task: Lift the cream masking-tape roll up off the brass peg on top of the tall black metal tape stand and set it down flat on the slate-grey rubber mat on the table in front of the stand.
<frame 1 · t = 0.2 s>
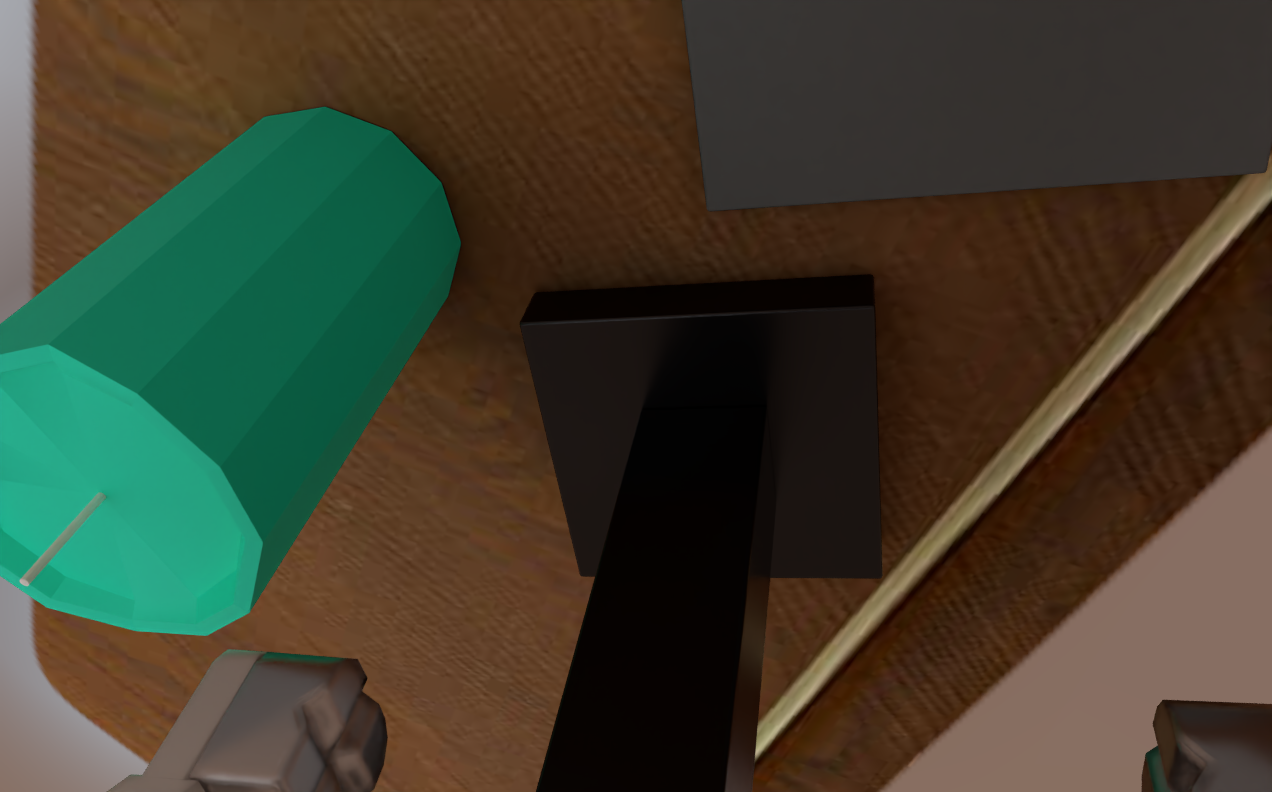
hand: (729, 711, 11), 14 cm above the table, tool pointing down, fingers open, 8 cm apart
tape stand: (716, 421, 27), on the table
candle: (343, 224, 25), on the table
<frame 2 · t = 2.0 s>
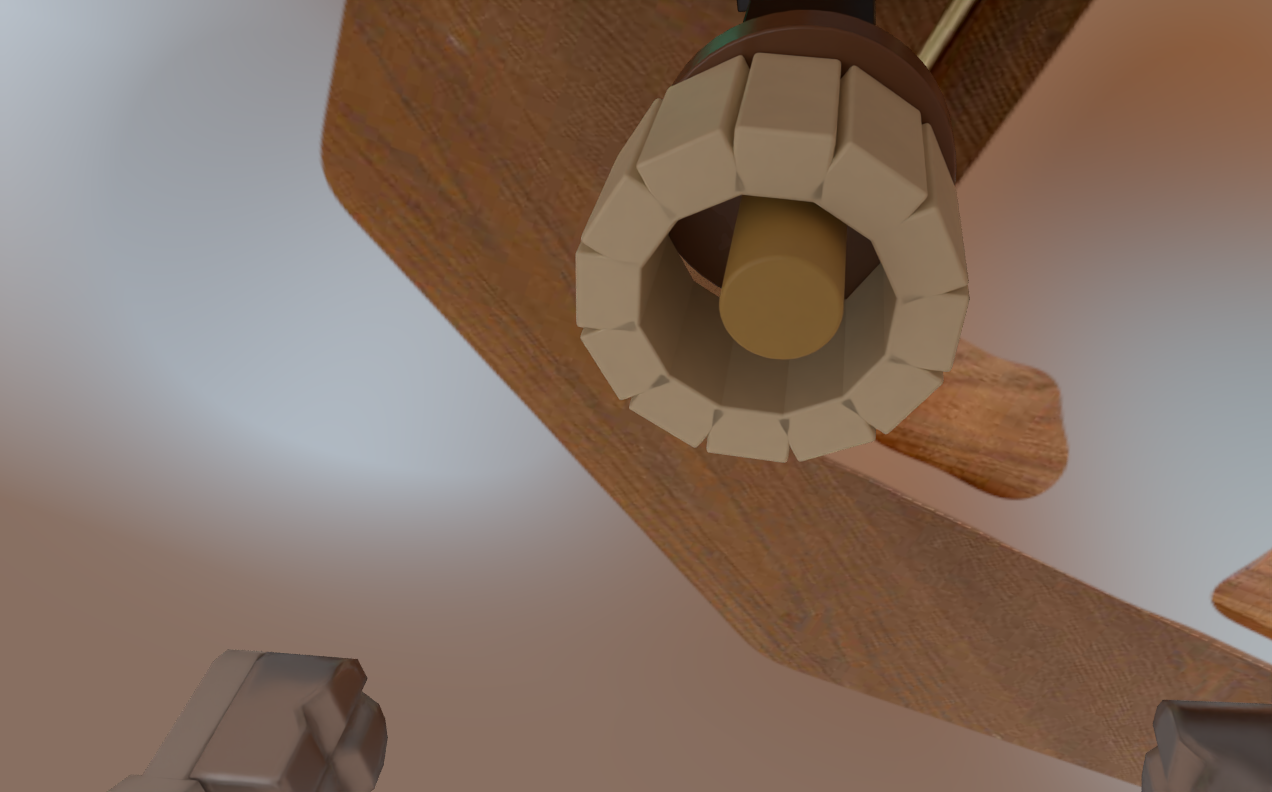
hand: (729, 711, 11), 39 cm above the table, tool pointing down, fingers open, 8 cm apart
tape: (777, 220, 21), point 26 cm above the table, touching tape stand
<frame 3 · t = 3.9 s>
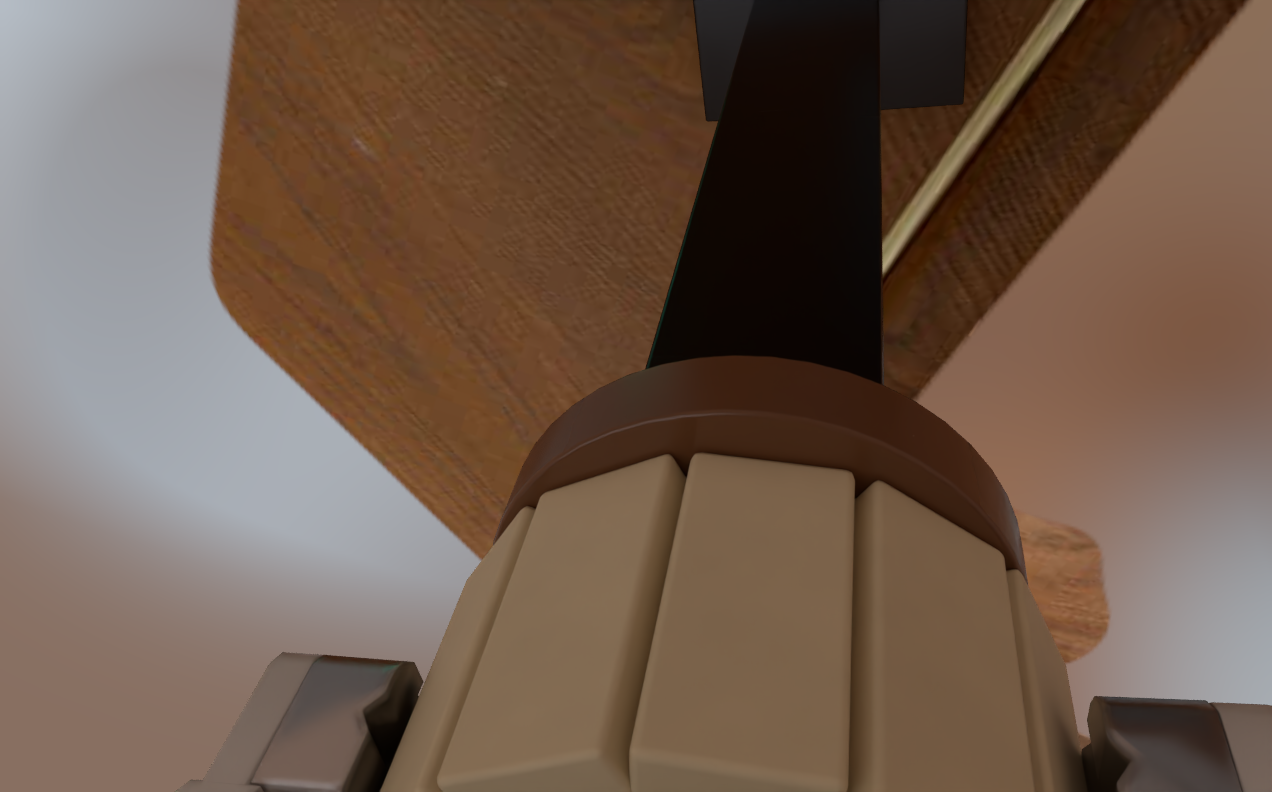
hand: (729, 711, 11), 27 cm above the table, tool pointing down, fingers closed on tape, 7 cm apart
tape: (748, 676, 12), point 26 cm above the table, touching gripper, tape stand
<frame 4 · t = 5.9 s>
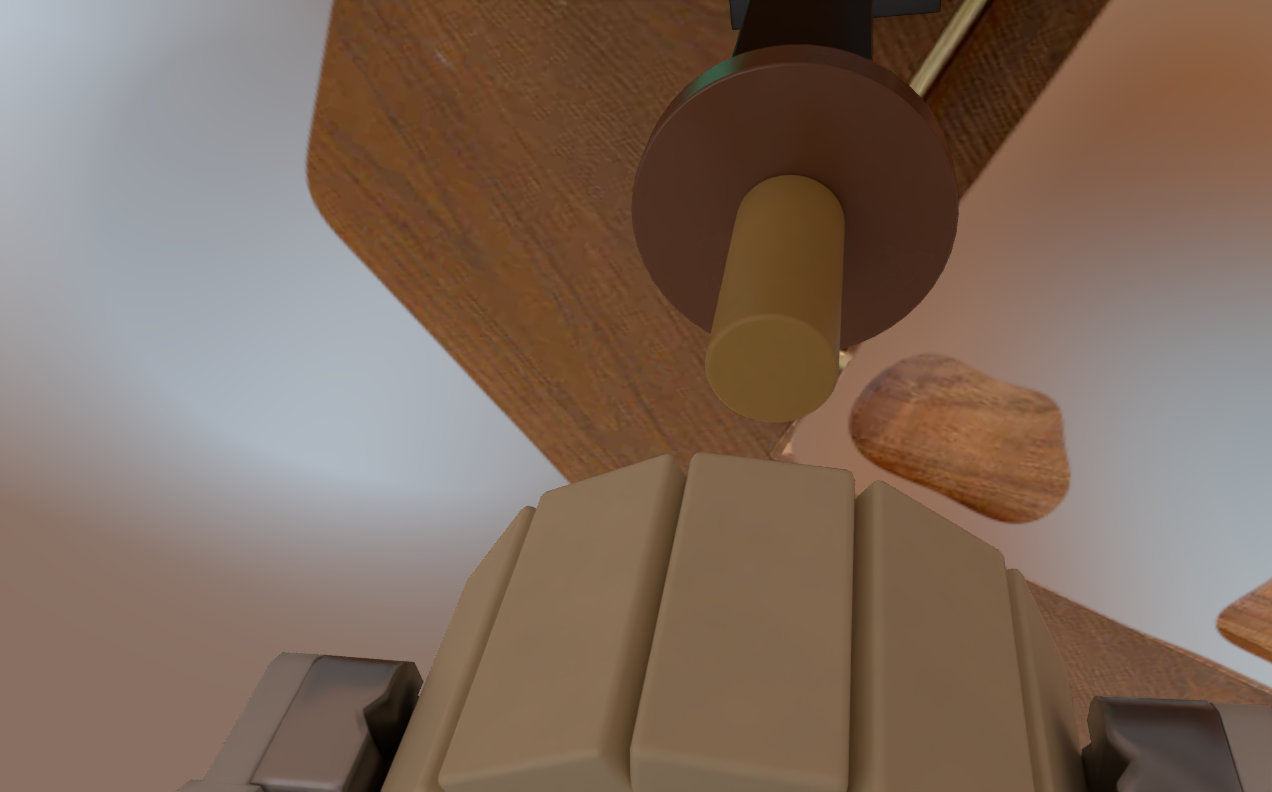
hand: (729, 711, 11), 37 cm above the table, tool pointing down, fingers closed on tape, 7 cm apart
tape: (748, 676, 12), point 36 cm above the table, touching gripper
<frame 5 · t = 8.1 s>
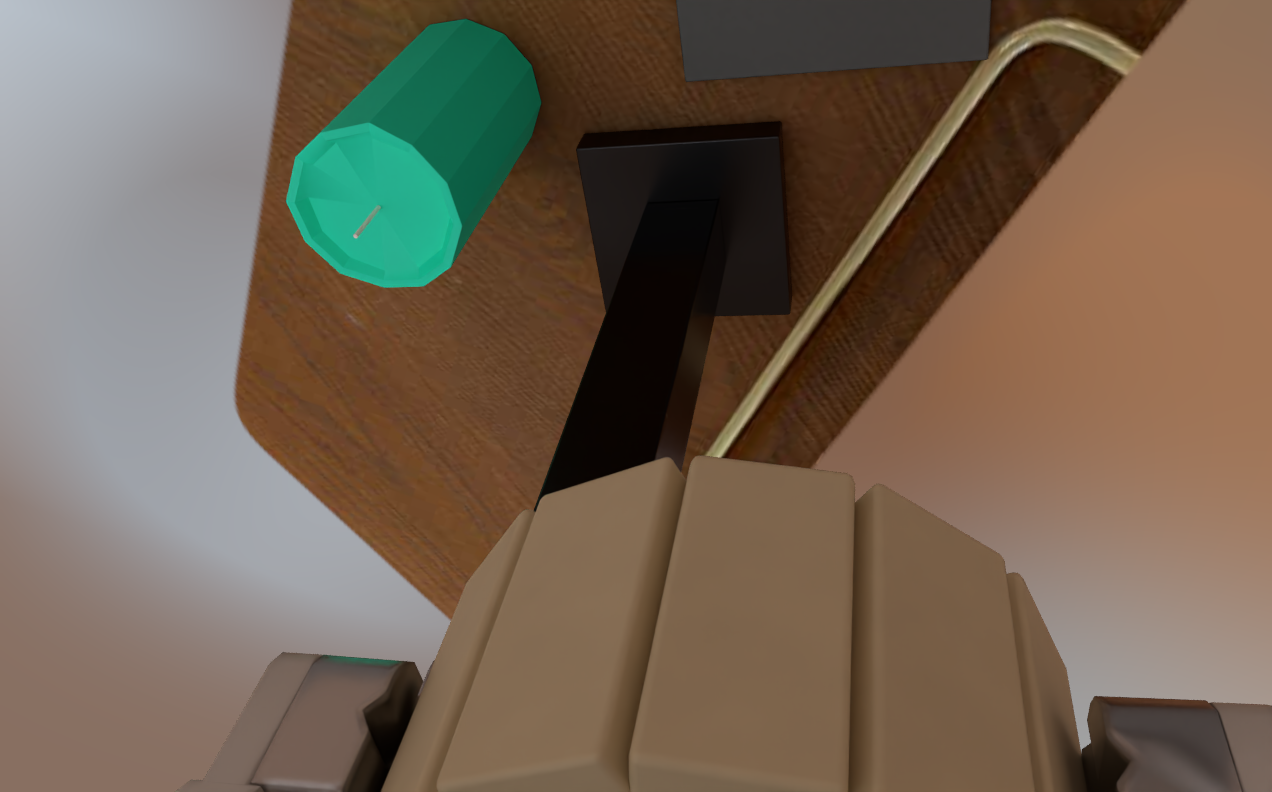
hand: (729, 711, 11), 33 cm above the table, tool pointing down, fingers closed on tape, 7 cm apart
tape stand: (691, 217, 44), on the table
candle: (470, 91, 43), on the table
tape: (748, 679, 12), point 32 cm above the table, touching gripper
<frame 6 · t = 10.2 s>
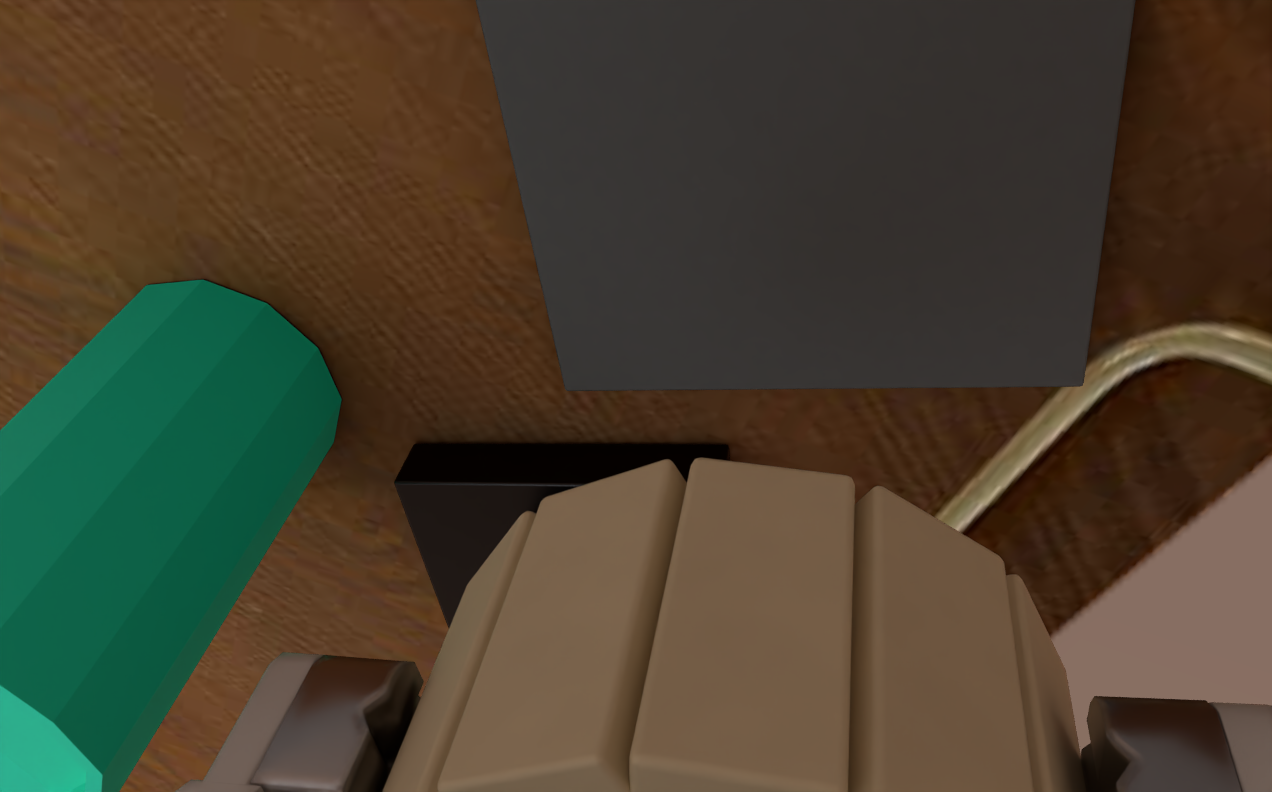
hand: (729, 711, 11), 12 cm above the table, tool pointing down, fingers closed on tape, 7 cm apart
tape stand: (593, 557, 28), on the table
mat: (799, 163, 20), on the table
candle: (231, 376, 27), on the table
tape: (748, 681, 12), point 11 cm above the table, touching gripper
when the fingers open (2 cm above the table, at t = 12.3 s): tape stays where it is, resting on mat.
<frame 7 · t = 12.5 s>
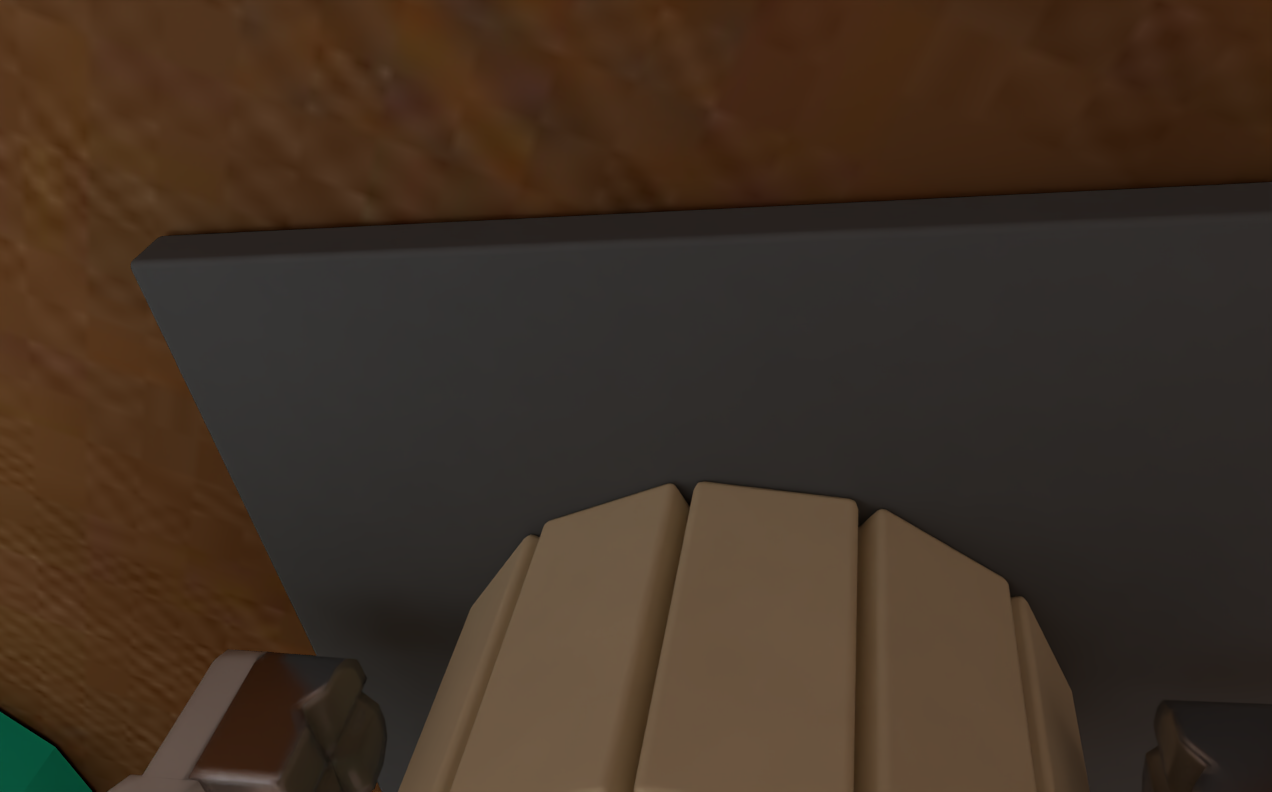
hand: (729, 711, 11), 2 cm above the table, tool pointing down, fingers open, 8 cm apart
mat: (747, 598, 12), on the table
tape: (753, 702, 12), point 1 cm above the table, touching mat
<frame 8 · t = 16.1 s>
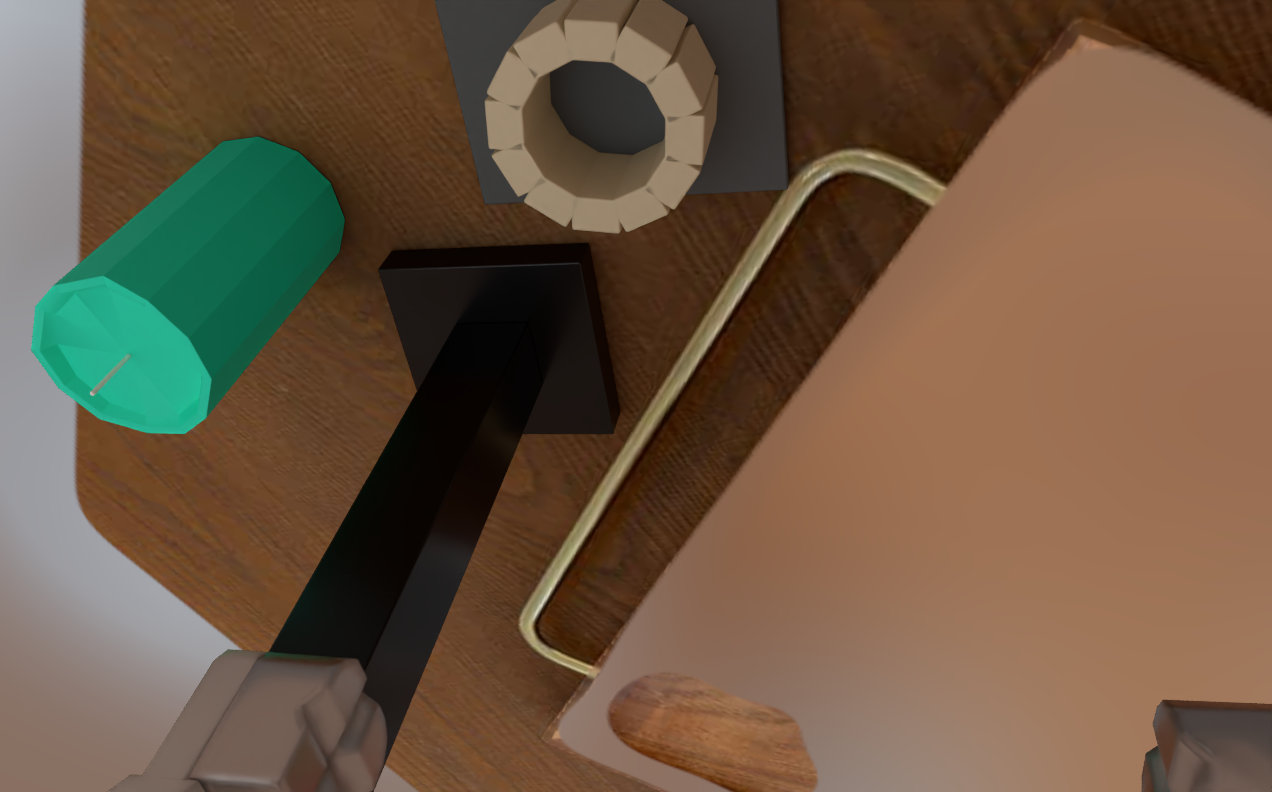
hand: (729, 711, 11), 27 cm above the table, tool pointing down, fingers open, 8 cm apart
tape stand: (509, 333, 43), on the table
mat: (612, 51, 35), on the table
candle: (273, 206, 41), on the table
tape: (615, 90, 35), point 1 cm above the table, touching mat
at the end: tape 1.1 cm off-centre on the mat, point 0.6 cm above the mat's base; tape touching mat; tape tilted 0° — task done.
